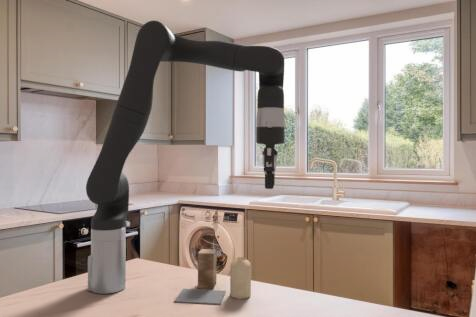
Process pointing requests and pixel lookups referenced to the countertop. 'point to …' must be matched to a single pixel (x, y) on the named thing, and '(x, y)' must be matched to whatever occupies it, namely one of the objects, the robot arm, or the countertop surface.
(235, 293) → the candle
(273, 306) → the countertop surface
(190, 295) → the mat
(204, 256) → the tan rectangular block
